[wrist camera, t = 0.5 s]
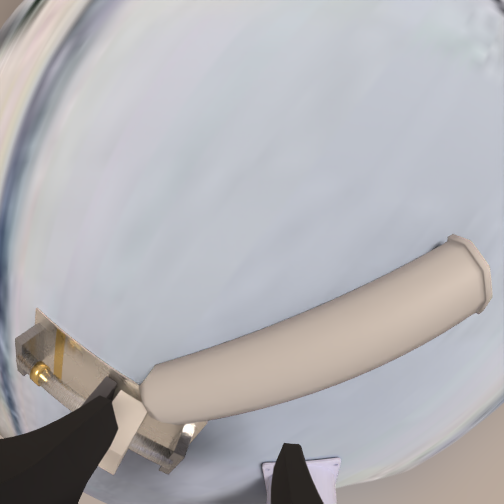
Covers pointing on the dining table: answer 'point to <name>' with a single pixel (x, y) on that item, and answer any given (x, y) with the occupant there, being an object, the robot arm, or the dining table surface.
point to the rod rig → (87, 380)
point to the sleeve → (123, 429)
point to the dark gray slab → (103, 390)
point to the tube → (324, 340)
